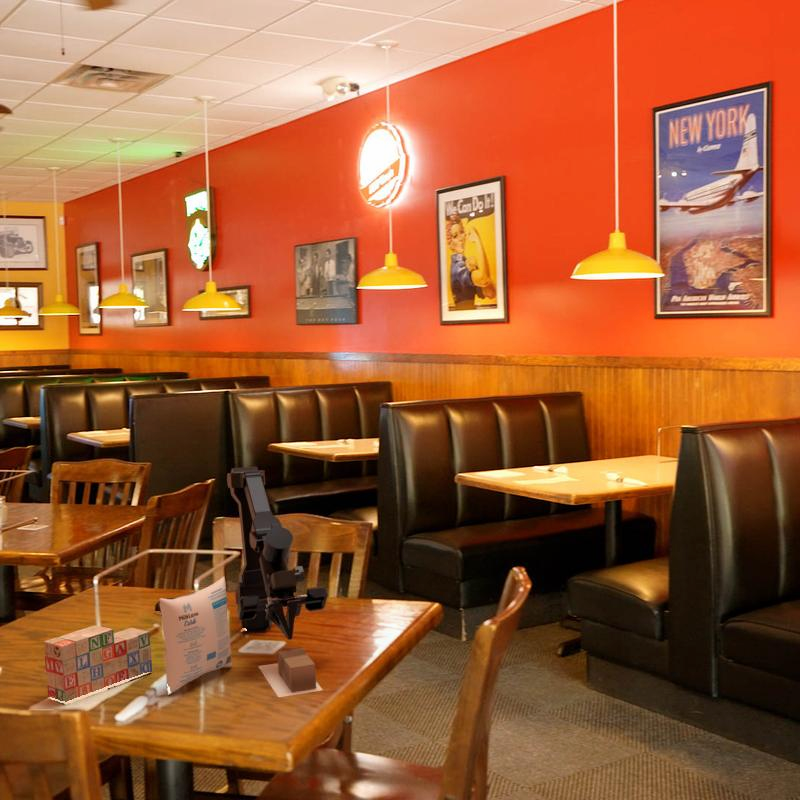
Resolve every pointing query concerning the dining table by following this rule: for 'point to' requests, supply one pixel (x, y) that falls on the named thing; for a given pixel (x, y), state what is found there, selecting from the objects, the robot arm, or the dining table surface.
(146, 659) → the stack of blocks
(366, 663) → the dining table surface
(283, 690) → the placemat
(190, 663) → the pouch
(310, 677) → the walnut block
